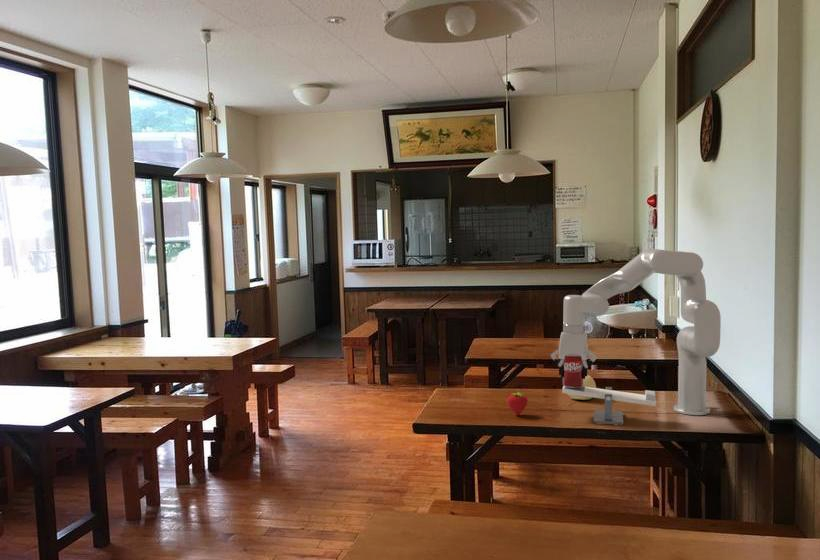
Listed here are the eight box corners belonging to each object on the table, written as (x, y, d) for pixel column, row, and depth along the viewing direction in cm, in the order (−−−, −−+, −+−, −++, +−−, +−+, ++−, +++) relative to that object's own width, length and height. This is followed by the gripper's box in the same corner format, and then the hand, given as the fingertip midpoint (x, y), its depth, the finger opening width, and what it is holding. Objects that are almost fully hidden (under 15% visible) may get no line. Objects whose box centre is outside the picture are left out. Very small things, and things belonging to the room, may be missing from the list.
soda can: (583, 389, 241) (584, 356, 240) (562, 388, 243) (563, 355, 242) (582, 384, 248) (583, 352, 247) (562, 383, 250) (562, 351, 249)
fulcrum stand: (622, 414, 248) (622, 386, 247) (623, 425, 235) (623, 396, 234) (594, 412, 251) (594, 385, 250) (593, 423, 238) (593, 394, 237)
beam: (654, 400, 242) (655, 390, 241) (656, 406, 234) (657, 396, 234) (563, 387, 250) (564, 378, 250) (562, 392, 243) (563, 383, 242)
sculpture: (577, 393, 280) (577, 367, 279) (601, 398, 271) (601, 372, 270) (559, 398, 273) (559, 372, 272) (583, 404, 264) (583, 376, 263)
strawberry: (507, 412, 254) (507, 386, 253) (527, 413, 252) (527, 386, 252) (506, 417, 248) (506, 390, 247) (527, 417, 247) (527, 390, 246)
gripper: (599, 328, 245) (598, 376, 246) (550, 326, 250) (549, 374, 251) (598, 331, 238) (597, 381, 239) (548, 329, 243) (547, 378, 244)
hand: (573, 377), depth 245 cm, fingers closed on soda can, 7 cm apart
